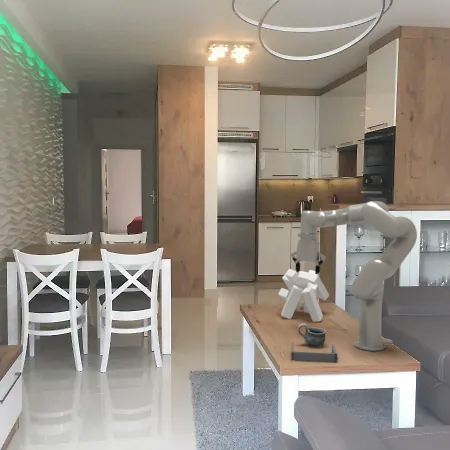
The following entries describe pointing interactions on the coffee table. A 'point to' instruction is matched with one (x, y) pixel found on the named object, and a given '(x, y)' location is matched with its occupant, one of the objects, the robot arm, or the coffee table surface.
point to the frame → (314, 355)
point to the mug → (313, 335)
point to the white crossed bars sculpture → (303, 293)
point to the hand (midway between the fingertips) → (307, 272)
